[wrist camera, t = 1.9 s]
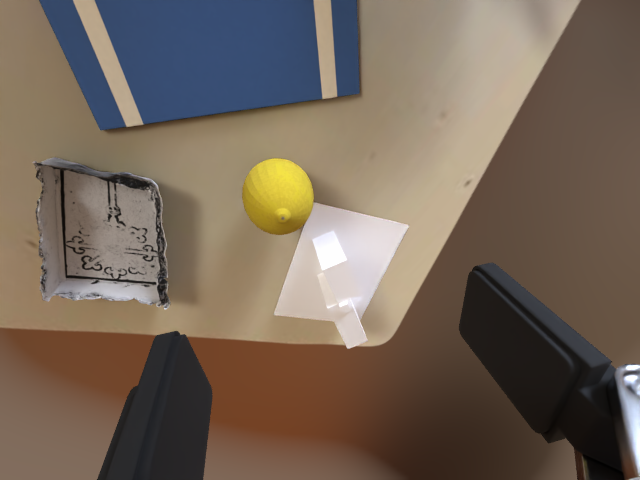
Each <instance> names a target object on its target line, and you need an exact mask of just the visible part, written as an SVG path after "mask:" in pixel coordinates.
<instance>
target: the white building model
mask: <svg viewBox="0 0 640 480" xmlns="http://www.w3.org/2000/svg"><path fill="white" fill-rule="evenodd" d="M408 227H409V225H407V224H403V223H399V222H394V221H390V220H386V219H382V218H378V217H373V216H369V215H365V214H361V213H357V212H353V211H348V210H344V209H340V208H336V207H332V206H327V205H323V204H319V203H315V202H313V208H312V211H311V215H310V216H309V218H308V220H307V221H306V223H305V225H304V227H303V230H302V233H301V236H300V239H299V242H298V245H297V248H296V251H295V254H294V257H293V259H292V262H291V265H290V268H289V271H288V274H287V277H286V280H285V283H284V286H283V288H282V291H281V294H280V297H279V300H278V303H277V306H276V309H275V312H274V315H278V316H287V317H297V318H306V319H315V320H324V321H334V323H335V325H336V327H337V329H338V331H339V333H340V334H341V336H342V338H343V340H344V342H345V344H346V346H347V348H348V349H349V348H352V347H354V346H357V345H359V344H362V343H364V342H367V341H368V340H367V338H366V335H365V333H364V330H363V328H362V325H361V323H360V319H362V318H361V317H362V315H363V313H364V312H365V310H366V308H367V306H368V304H369V302H370V300H371V298H372V296H373V294H374V292H375V290H376V288H377V287H378V285H379V283H380V281H381V279H382V277H383V275H384V273H385V271H386V269H387V267H388V265H389V263H390V262H391V260H392V258H393V256H394V254H395V252H396V250H397V248H398V246H399V244H400V242H401V240H402V238H403V237H404V235H405V233H406V231H407V229H408Z"/></svg>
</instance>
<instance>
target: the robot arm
mask: <svg viewBox="0 0 640 480" xmlns="http://www.w3.org/2000/svg"><path fill="white" fill-rule="evenodd" d="M459 331H460V334H461V336H462V337H463V339H464V340H465V341H466V343H467V344H468V345H469V347H470V348H471V349H472V351H473V352H474V353H475V355H476V356H477V357H478V358H479V360H480V361H481V362H482V364H483V365H484V366H485V368H486V369H487V370H488V372H489V373H490V374H491V376H492V377H493V378H494V380H495V381H496V382H497V383H498V385H499V386H500V387H501V389H502V390H503V391H504V392H505V394H506V395H507V397H508V398H509V399H510V400H511V402H512V403H513V404H514V406H515V407H516V408H517V410H518V411H519V412H520V414H521V415H522V416H523V418H524V419H525V420H526V421H527V423H528V424H529V425H530V427H531V428H532V429H533V430H534V431H535V432H537V433H541V434H542V436H543V437H544V438H545V440H546V441H547V442H548V443H551V442H555V441H558V440H562V439H565V438H566V439H567V440H568V441H569V442H570V443H571V444H572V446H573V447H574V453H575V461H576V470H577V479H578V480H640V365H638V364H625V365H623V366H620V367H618V369H615V368H614V367H613V366H612V365H611V362H612V361H611V360H610V359H608V358H607V357H606V356H605V355H604V354H602V353H601V352H600V351H599V350H598V349H596V348H595V347H594V346H593V345H592V344H590V343H589V342H588V341H587V340H586V339H584V338H583V337H582V336H581V335H580V334H579V333H577V332H576V331H575V330H574V329H572V328H571V327H570V326H569V325H568V324H567V323H565V322H564V321H563V320H562V319H561V318H559V317H558V316H557V315H556V314H555V313H553V312H552V311H551V310H550V309H549V308H547V307H546V306H545V305H544V304H543V303H541V302H540V301H539V300H538V299H537V298H536V297H534V296H533V295H532V294H531V293H530V292H528V291H527V290H526V289H525V288H524V287H522V286H521V285H520V284H519V283H518V282H516V281H515V280H514V279H513V278H512V277H510V276H509V275H508V274H507V273H506V272H504V271H503V270H502V269H501V268H499V266H497V265H496V264H494V263H488V264H483V265H479V266H475V267H474V268H473V270H472V272H470V273H469V275H468V281H467V286H466V292H465V297H464V302H463V308H462V314H461V319H460V324H459ZM211 405H212V389H211V385H210V384H209V381H208V379H207V377H206V375H205V373H204V371H203V369H202V367H201V365H200V363H199V361H198V359H197V357H196V355H195V353H194V351H193V349H192V347H191V345H190V343H189V340H188V338H187V337H186V335H185V334H183V335H180V333H179V332H178V331H174V332H170V333H165V334H160V335H157V336H156V337H155V339H154V341H153V344H152V346H151V349H150V352H149V355H148V358H147V361H146V364H145V367H144V370H143V373H142V376H141V379H140V381H139V384H138V386H135V387H134V388H133V389H132V390H131V391H130V393H129V395H128V397H127V400H126V402H125V405H124V408H123V411H122V413H121V416H120V419H119V422H118V424H117V427H116V430H115V433H114V436H113V438H112V441H111V444H110V446H109V449H108V452H107V455H106V457H105V460H104V463H103V466H102V468H101V471H100V474H99V476H98V479H97V480H203V475H204V467H205V458H206V449H207V440H208V431H209V423H210V414H211Z"/></svg>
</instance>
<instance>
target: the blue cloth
mask: <svg viewBox="0 0 640 480" xmlns="http://www.w3.org/2000/svg"><path fill="white" fill-rule="evenodd" d="M39 1H40V3H41V5H42V7H43V10H44V12H45V14H46V16H47V18H48V20H49V22H50V24H51V27H52V29H53V31H54V33H55V35H56V37H57V39H58V41H59V43H60V46H61V48H62V50H63V52H64V54H65V56H66V58H67V60H68V63H69V65H70V67H71V69H72V71H73V73H74V75H75V77H76V80H77V82H78V84H79V86H80V88H81V90H82V92H83V94H84V97H85V99H86V101H87V103H88V105H89V107H90V109H91V111H92V113H93V116H94V118H95V120H96V122H97V124H98V126H99V128H100V130H107V129H114V128H121V127H130V126H137V125H143V124H149V123H156V122H163V121H170V120H177V119H185V118H192V117H199V116H206V115H213V114H220V113H227V112H234V111H241V110H248V109H255V108H262V107H269V106H276V105H283V104H290V103H297V102H304V101H311V100H318V99H327V98H334V97H339V96H346V95H353V94H359V93H360V89H359V57H358V25H357V0H39Z"/></svg>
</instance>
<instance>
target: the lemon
mask: <svg viewBox="0 0 640 480" xmlns="http://www.w3.org/2000/svg"><path fill="white" fill-rule="evenodd" d="M242 199H243V203H244V208H245V211H246V212H247V214H248V216H249V218H250V220H251V221H252V222H253V223H254V224H255V225H256V226H257V227H258V228H260V229H261V230H263V231H265V232H267V233H270V234H276V235H283V234H289V233H292V232H294V231H296V230H298V229H299V228H301V227H302V226H303V225H304V224H305V223H306V221H307V220H308V218H309V216H310V215H311V211H312V208H313V201H314V193H313V188H312V184H311V182H310V180H309V178H308V176H307V174H306V173H305V172H304V171H303V170H302V169H301V168H300V167H299V166H298V165H296V164H295V163H293V162H291V161H288V160H285V159H277V158H273V159H268V160H265V161H263V162H261V163H259V164H257V165H256V166H255V167H254V168H253V169H252V170H251V171H250V173H249V174H248V175H247V177H246V179H245V182H244V185H243V193H242Z"/></svg>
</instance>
